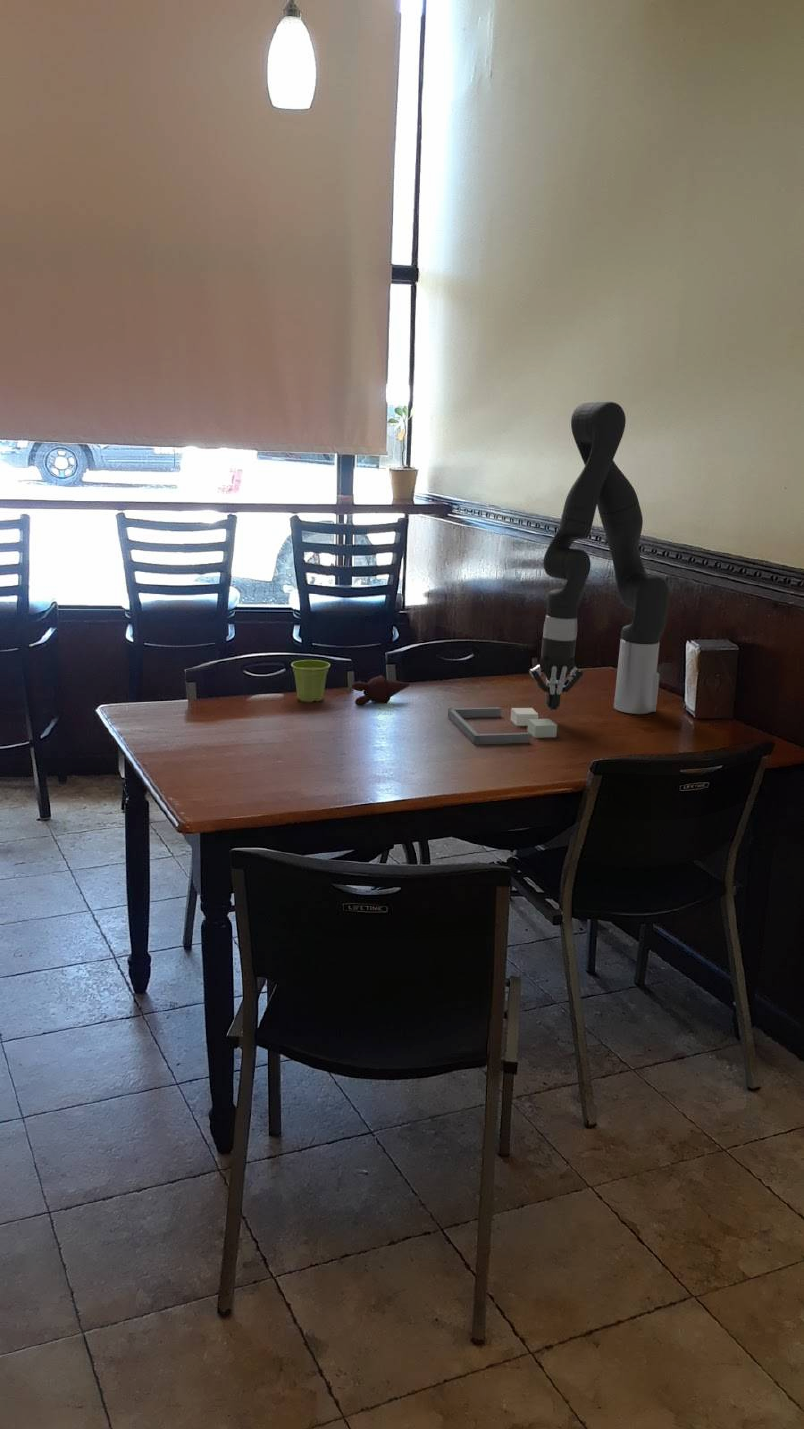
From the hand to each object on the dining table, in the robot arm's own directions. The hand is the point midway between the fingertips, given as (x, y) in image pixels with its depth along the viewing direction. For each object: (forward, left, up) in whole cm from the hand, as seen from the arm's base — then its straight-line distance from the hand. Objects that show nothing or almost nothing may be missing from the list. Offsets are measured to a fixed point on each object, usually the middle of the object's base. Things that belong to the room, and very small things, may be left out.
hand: (552, 708), depth 259 cm
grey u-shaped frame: (+17, +5, -3) cm, 18 cm away
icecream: (+36, -19, -3) cm, 41 cm away
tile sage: (+6, +9, -3) cm, 12 cm away
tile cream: (+7, 0, -3) cm, 8 cm away
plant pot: (+53, -24, -3) cm, 58 cm away
